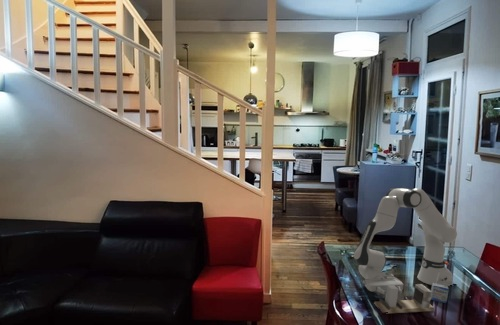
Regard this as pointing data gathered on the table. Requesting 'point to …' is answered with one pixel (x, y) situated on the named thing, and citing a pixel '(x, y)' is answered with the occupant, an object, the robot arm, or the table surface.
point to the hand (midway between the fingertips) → (392, 292)
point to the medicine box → (439, 292)
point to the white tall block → (391, 295)
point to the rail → (410, 302)
